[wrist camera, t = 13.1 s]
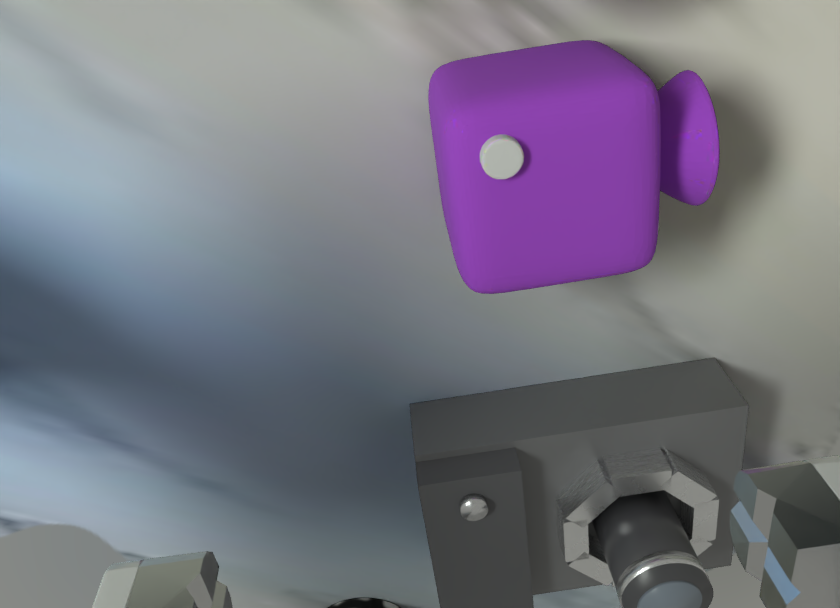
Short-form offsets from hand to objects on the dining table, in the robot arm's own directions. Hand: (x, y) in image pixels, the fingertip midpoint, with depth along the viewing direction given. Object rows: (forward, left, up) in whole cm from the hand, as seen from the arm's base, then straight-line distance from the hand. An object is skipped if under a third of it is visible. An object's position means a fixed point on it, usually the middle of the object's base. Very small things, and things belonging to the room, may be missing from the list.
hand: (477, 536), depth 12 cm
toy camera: (+8, -4, -31) cm, 32 cm away
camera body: (+8, -28, -31) cm, 42 cm away
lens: (+11, -28, -26) cm, 39 cm away
